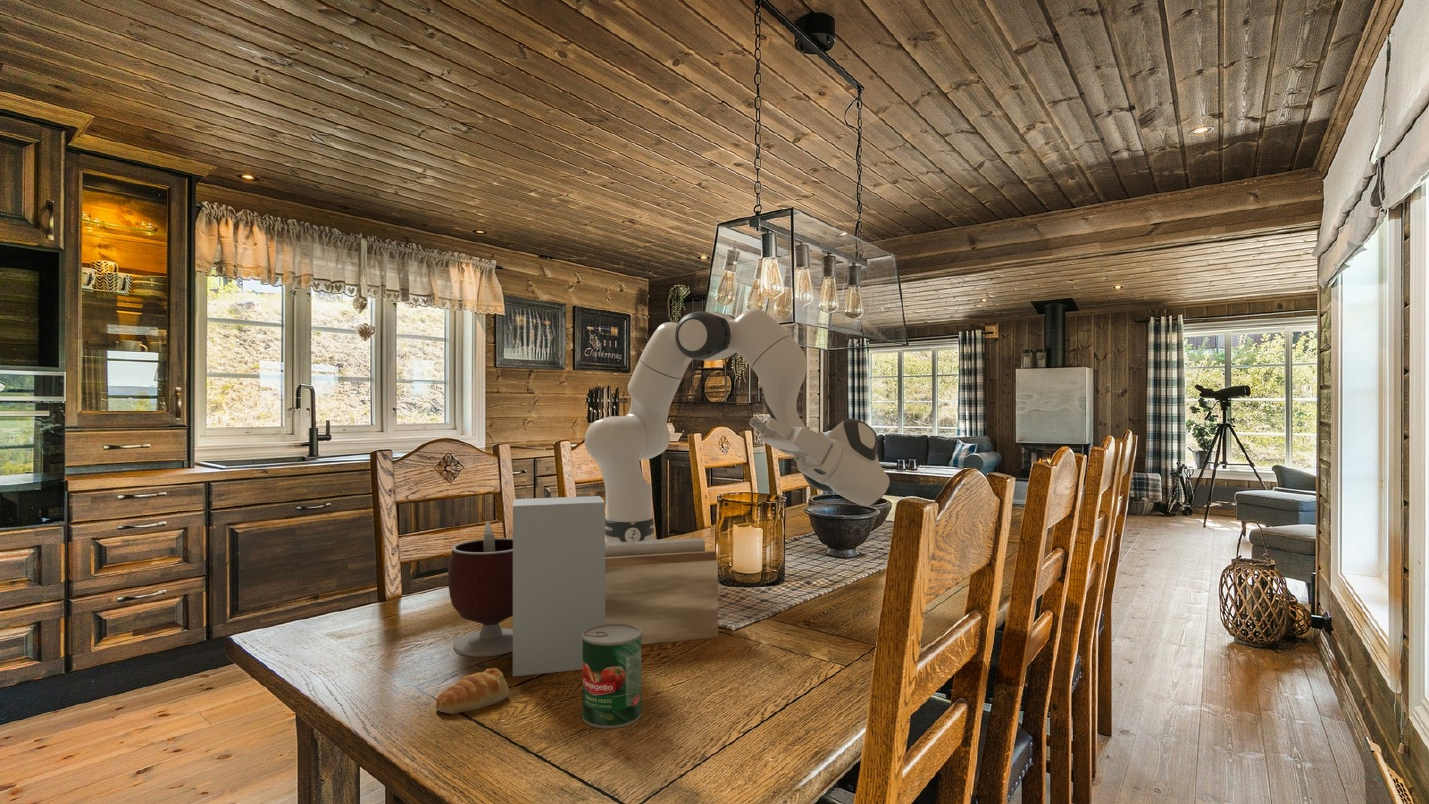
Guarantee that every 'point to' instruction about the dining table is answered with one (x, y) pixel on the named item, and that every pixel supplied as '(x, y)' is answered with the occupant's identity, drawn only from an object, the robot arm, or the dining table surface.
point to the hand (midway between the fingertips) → (759, 420)
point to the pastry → (474, 692)
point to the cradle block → (664, 595)
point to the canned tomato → (611, 675)
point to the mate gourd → (483, 592)
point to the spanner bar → (654, 547)
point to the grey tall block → (556, 580)
